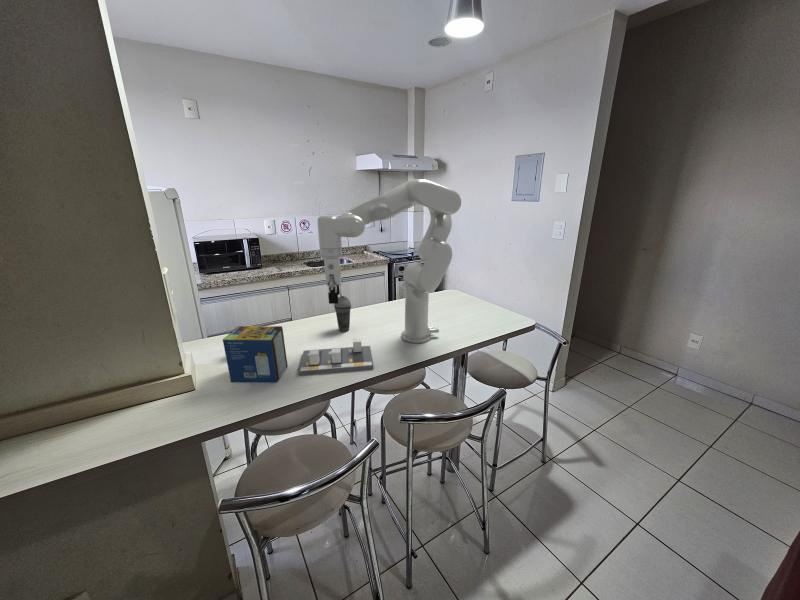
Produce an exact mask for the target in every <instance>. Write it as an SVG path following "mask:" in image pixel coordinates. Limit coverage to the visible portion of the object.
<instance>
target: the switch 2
mask: <svg viewBox="0 0 800 600" xmlns="http://www.w3.org/2000/svg"><path fill="white" fill-rule="evenodd" d="M361 346H362V338H361V337H359V338H352V347H353V351H354V352H362V347H361Z"/></svg>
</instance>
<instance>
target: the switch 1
mask: <svg viewBox="0 0 800 600" xmlns="http://www.w3.org/2000/svg"><path fill="white" fill-rule="evenodd" d="M310 350H311V351H310V353H309V359H310V365H317V364H319V361H320V358H319V349H310Z"/></svg>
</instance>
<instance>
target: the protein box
mask: <svg viewBox="0 0 800 600" xmlns="http://www.w3.org/2000/svg"><path fill="white" fill-rule="evenodd" d="M284 337H285V336H284V329H283V326H281V325H277V326H275V325H272V326H271V325H270V326H269V325H268V326H265V325H264V326H262V325H261V326H258V325H257V326H254V325H251V326H246V325H245V326H244V325H243V326H242V325H239V326H236V327H235V328H234V329H233V330H231V332H229V333H228V334H227V335H226V336H225V337H223V338H222V343H223V347H224V353H225V358H226V363H227V368H228V374H229V379H230V383H260V384H261V383H265V384H266V383H270V384H271V383H274V384H275V383H278V382H279V381H280V378H281V377H282V376H283V374H284V373H285V371H286V370H287V369H288V365H289V364H288V359H287V352H286V345H285V338H284Z"/></svg>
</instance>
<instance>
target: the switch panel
mask: <svg viewBox="0 0 800 600" xmlns="http://www.w3.org/2000/svg"><path fill="white" fill-rule="evenodd" d="M361 347H362V352H354V351H353V346H350V347H346V346H345V347H340V348H341V363H332V349H338V348H339V347H333V348H322V349H321V348H320V349H318V350H319V358H320V361H319V364H317V365H310V359H309V353H310V351H311V350H312V349H308V350H307V349H305V350H303V352H302V357H301V361H300V365H299V370H298V376H308V375H322V374H331V373H333V374H334V373H343V372H355V371H356V372H357V371H367V370H368V371H369V370H374V362H373V355H372V349H371V345H364V346H363V345H361Z"/></svg>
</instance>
